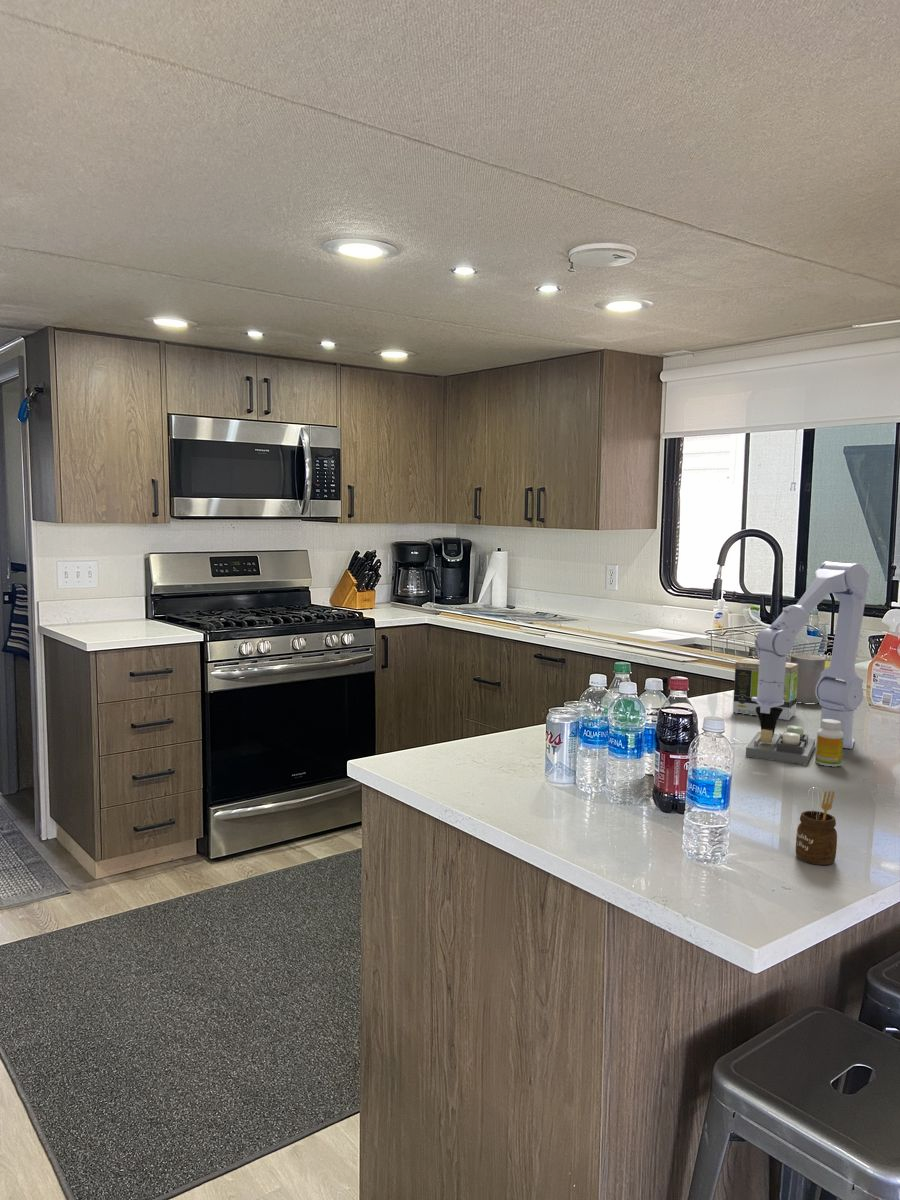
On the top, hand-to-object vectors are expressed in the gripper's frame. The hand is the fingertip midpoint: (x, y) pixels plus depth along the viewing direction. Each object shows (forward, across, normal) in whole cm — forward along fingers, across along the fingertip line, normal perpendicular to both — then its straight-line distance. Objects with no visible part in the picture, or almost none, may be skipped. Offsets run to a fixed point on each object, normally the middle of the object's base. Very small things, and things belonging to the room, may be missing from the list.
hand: (767, 738), depth 207 cm
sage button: (0, -4, +5) cm, 7 cm away
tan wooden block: (0, +2, 0) cm, 2 cm away
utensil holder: (+3, +67, +17) cm, 69 cm away
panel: (+3, -1, +3) cm, 4 cm away
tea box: (+3, -42, -6) cm, 43 cm away
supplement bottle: (+3, +4, +14) cm, 14 cm away
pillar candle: (+3, -69, +1) cm, 69 cm away
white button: (0, +4, +6) cm, 7 cm away
